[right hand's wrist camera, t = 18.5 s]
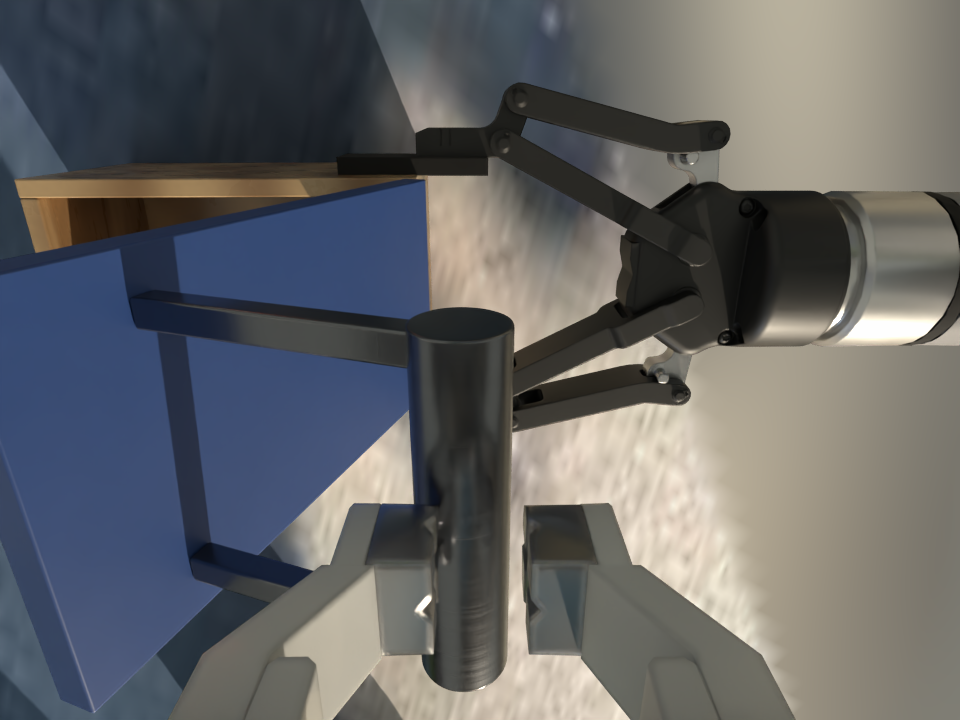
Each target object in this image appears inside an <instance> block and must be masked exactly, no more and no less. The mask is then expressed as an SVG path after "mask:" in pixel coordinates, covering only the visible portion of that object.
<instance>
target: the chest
mask: <svg viewBox="0 0 960 720" xmlns="http://www.w3.org/2000/svg"><path fill="white" fill-rule="evenodd" d="M401 179H424V180H425V185H426V214H427V243H428V272H429V301H430V311H431V310H432V293H431V262H430V232H429V202H428V176H418V175H338V170H337V163H128V164H121V165H114V166H107V167H100V168H92V169H85V170H78V171H71V172H64V173H57V174H49V175H42V176H35V177H28V178H21V179H15V184H16V187H17V191H18V195H19V197H20V198H22V199H21V204H22V207H23V211H24V214H25V218H26V221H27V225H28V228H29V232H30V235H31V239H32V242H33V246H34V249H35V253H38V252H43V251H48V250H53V249H58V248H63V247H67V246H72V245H77V244H82V243H87V242H92V241H97V240H102V239H107V238H112V237H117V236H122V235H127V234H132V233H137V232H142V231H147V230H152V229H157V228H162V227H167V226H172V225H177V224H182V223H187V222H192V221H197V220H202V219H207V218H212V217H217V216H222V215H227V214H232V213H237V212H242V211H247V210H252V209H256V208H261V207H266V206H271V205H276V204H281V203H286V202H291V201H296V200H301V199H306V198H311V197H316V196H321V195H326V194H331V193H336V192H341V191H346V190H351V189H356V188H361V187H366V186H371V185H376V184H381V183H386V182H391V181H396V180H401Z"/></svg>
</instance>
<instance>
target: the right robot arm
mask: <svg viewBox="0 0 960 720" xmlns="http://www.w3.org/2000/svg"><path fill="white" fill-rule="evenodd" d="M523 531H524V541H525V543H524V544H523V546H522V584H523V598H524V602H525V603H526V630H527V640H528V650H529V654H535V655H570V656H581V659H582V660H583V661H584V663H585V664H586V665H587V666H588V668H589V669H590V670H591V671H592V673H593V674H594V675H595V676H596V678H597V679H598V680H599V681H600V682H601V684H602V685H603V686H604V687H605V689H606V690H607V691H608V692H609V694H610V695H611V696H612V697H613V699H614V700H615V701H616V702H617V703H618V705H619V706H620V707H621V708H622V710H623V711H624V712H625V713H626V715H627V716H628V717H629V718H630V720H796V719H795V717H794V715H793V714H792V712H791V710H790V708H789V706H788V704H787V702H786V700H785V698H784V696H783V695H782V693H781V691H780V689H779V687H778V685H777V683H776V681H775V679H774V677H773V676H772V674H771V672H770V670H769V668H768V666H767V664H766V662H765V660H764V658H763V657H762V655H761V654H760V653H758V652H757V651H756V650H754V649H753V648H752V647H750V646H749V645H748V644H746V643H745V642H744V641H742V640H741V639H739V638H738V637H737V636H735V635H734V634H733V633H731V632H730V631H729V630H727V629H726V628H725V627H723V626H722V625H721V624H719V623H718V622H717V621H715V620H714V619H713V618H711V617H710V616H709V615H707V614H706V613H705V612H703V611H702V610H701V609H699V608H698V607H697V606H695V605H694V604H692V603H691V602H690V601H688V600H687V599H686V598H684V597H683V596H682V595H680V594H679V593H678V592H676V591H675V590H674V589H672V588H671V587H670V586H668V585H667V584H666V583H664V582H663V581H662V580H660V579H659V578H658V577H656V576H655V575H654V574H652V573H651V572H650V571H648V570H647V569H646V568H644V567H643V566H641V565H632V562H631V559H630V556H629V554H628V551H627V548H626V545H625V542H624V539H623V536H622V534H621V531H620V528H619V525H618V522H617V519H616V516H615V514H614V511H613V508H612V506H611V505H610V504H609V503H595V504H580V505H524V513H523ZM438 533H439V511H438V505H427V504H382V505H381V504H380V503H354V504H353V505H352V506H351V507H350V508H349V511H348V514H347V517H346V520H345V523H344V526H343V529H342V532H341V535H340V538H339V540H338V543H337V546H336V549H335V552H334V555H333V558H332V561H331V564H330V565H321V566H320V567H319V568H317V569H316V570H315V571H313V572H312V573H311V574H309V575H308V576H306V577H305V578H304V579H302V580H301V581H300V582H298V583H297V584H296V585H294V586H293V587H292V588H290V589H289V590H288V591H286V592H285V593H284V594H282V595H281V596H280V597H278V598H277V599H276V600H274V601H273V602H272V603H270V604H269V605H268V606H266V607H265V608H264V609H262V610H261V611H260V612H258V613H257V614H256V615H254V616H253V617H251V618H250V619H249V620H247V621H246V622H245V623H243V624H242V625H241V626H239V627H238V628H237V629H235V630H234V631H233V632H231V633H230V634H229V635H227V636H226V637H225V638H223V639H222V640H221V641H219V642H218V643H217V644H215V645H214V646H213V647H211V648H210V649H209V650H207V651H206V652H205V653H203V654H202V656H201V658H200V660H199V662H198V664H197V665H196V667H195V669H194V671H193V673H192V675H191V677H190V679H189V681H188V682H187V684H186V686H185V688H184V690H183V692H182V694H181V696H180V698H179V700H178V701H177V703H176V705H175V707H174V709H173V711H172V713H171V715H170V717H169V719H168V720H333V718H334V717H335V716H336V715H337V713H338V712H339V711H340V710H341V708H342V707H343V706H344V705H345V703H346V702H347V701H348V700H349V699H350V697H351V696H352V695H353V694H354V692H355V691H356V690H357V689H358V687H359V686H360V685H361V684H362V682H363V681H364V680H365V679H366V677H367V676H368V675H369V674H370V673H371V671H372V670H373V669H374V668H375V666H376V665H377V664H378V663H379V661H380V660H381V656H392V655H426V654H434V645H435V634H436V624H437V615H436V603H437V602H438V601H439V586H440V546H439V544H438Z"/></svg>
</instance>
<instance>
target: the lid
mask: <svg viewBox="0 0 960 720" xmlns="http://www.w3.org/2000/svg"><path fill="white" fill-rule="evenodd" d="M513 367H514V323H513V321H512V320H511V319H510V318H509V317H508V316H506V315H504V314H501V313H498V312H495V311H491V310H486V309H480V308H468V307H455V308H442V309H436V310H431V311H430V301H429V272H428V243H427V214H426V185H425V180H424V179H401V180H396V181H391V182H386V183H381V184H376V185H371V186H366V187H361V188H356V189H351V190H346V191H341V192H336V193H331V194H326V195H321V196H316V197H311V198H306V199H301V200H296V201H291V202H286V203H281V204H276V205H271V206H266V207H261V208H256V209H252V210H247V211H242V212H237V213H232V214H227V215H222V216H217V217H212V218H207V219H202V220H197V221H192V222H187V223H182V224H177V225H172V226H167V227H162V228H157V229H152V230H147V231H142V232H137V233H132V234H127V235H122V236H117V237H112V238H107V239H102V240H97V241H92V242H87V243H82V244H77V245H72V246H67V247H63V248H58V249H53V250H48V251H43V252H38V253H33V254H28V255H23V256H18V257H13V258H8V259H3V260H0V539H1V542H2V545H3V547H4V550H5V553H6V555H7V558H8V561H9V563H10V566H11V569H12V571H13V574H14V577H15V579H16V582H17V585H18V587H19V590H20V592H21V595H22V598H23V600H24V603H25V606H26V608H27V611H28V614H29V616H30V619H31V622H32V624H33V627H34V630H35V632H36V635H37V638H38V640H39V643H40V646H41V648H42V651H43V654H44V656H45V659H46V662H47V664H48V667H49V670H50V672H51V675H52V677H53V680H54V683H55V685H56V688H57V691H58V693H59V696H60V699H61V700H63V701H65V702H68V703H70V704H72V705H75V706H77V707H79V708H82V709H84V710H86V711H89V712H91V713H94V712H96V711H97V710H98V709H99V708H100V707H101V706H102V705H103V704H104V703H105V702H106V701H107V700H108V699H109V698H110V697H111V696H112V695H113V694H115V693H116V692H117V691H118V690H119V689H120V688H121V687H122V686H123V685H124V684H125V683H126V682H127V681H128V680H129V679H130V678H131V677H132V676H133V675H134V674H135V673H136V672H137V671H138V670H139V669H140V668H141V667H143V666H144V665H145V664H146V663H147V662H148V661H149V660H150V659H151V658H152V657H153V656H154V655H155V654H156V653H157V652H158V651H159V650H160V649H161V648H162V647H163V646H164V645H165V644H166V643H167V642H168V641H169V640H171V639H172V638H173V637H174V636H175V635H176V634H177V633H178V632H179V631H180V630H181V629H182V628H183V627H184V626H185V625H186V624H187V623H188V622H189V621H190V620H191V619H192V618H193V617H194V616H195V615H196V614H197V613H198V612H200V611H201V610H202V609H203V608H204V607H205V606H206V605H207V604H208V603H209V602H210V601H211V600H212V599H213V598H214V597H215V596H216V595H217V594H218V593H219V592H220V591H221V590H222V589H226V590H229V591H232V592H235V593H239V594H242V595H245V596H248V597H252V598H255V599H258V600H261V601H265V602H268V603H272V602H273V601H274V600H276V599H277V598H278V597H280V596H281V595H282V594H284V593H285V592H286V591H288V590H289V589H290V588H292V587H293V586H294V585H296V584H297V583H298V582H300V581H301V580H302V579H304V578H305V577H306V576H308V575H309V574H311V573H312V572H313V571H312V570H308V569H305V568H301V567H298V566H294V565H291V564H287V563H284V562H280V561H276V560H273V559H269V558H266V557H262V556H259V554H260V553H261V552H262V551H263V550H264V549H265V548H266V547H267V546H268V545H269V544H270V543H271V542H272V541H273V540H274V539H275V538H276V537H277V536H278V535H279V534H280V533H281V532H282V531H283V530H285V529H286V528H287V527H288V526H289V525H290V524H291V523H292V522H293V521H294V520H295V519H296V518H297V517H298V516H299V515H300V514H301V513H302V512H303V511H304V510H305V509H306V508H307V507H308V506H309V505H310V504H311V503H313V502H314V501H315V500H316V499H317V498H318V497H319V496H320V495H321V494H322V493H323V492H324V491H325V490H326V489H327V488H328V487H329V486H330V485H331V484H332V483H333V482H334V481H335V480H336V479H337V478H338V477H339V476H340V475H342V474H343V473H344V472H345V471H346V470H347V469H348V468H349V467H350V466H351V465H352V464H353V463H354V462H355V461H356V460H357V459H358V458H359V457H360V456H361V455H362V454H363V453H364V452H365V451H366V450H367V449H368V448H370V447H371V446H372V445H373V444H374V443H375V442H376V441H377V440H378V439H379V438H380V437H381V436H382V435H383V434H384V433H385V432H386V431H387V430H388V429H389V428H390V427H391V426H392V425H393V424H394V423H395V422H396V421H398V420H399V419H400V418H401V417H402V416H403V415H404V414H405V413H406V412H407V411H408V410H409V418H410V437H411V456H412V476H413V495H414V504H427V505H438V511H439V533H438V544H439V546H440V586H439V601H438V602H437V603H436V615H437V624H436V634H435V645H434V654H426V655H422V662H423V666H424V669H425V671H426V673H427V674H428V675H429V677H430V678H431V679H432V680H433V681H434V682H435V683H437V684H438V685H439V686H441V687H443V688H445V689H448V690H451V691H457V692H471V691H476V690H479V689H482V688H484V687H486V686H488V685H490V684H491V683H493V682H494V681H495V680H496V679H497V678H498V677H499V676H500V674H501V673H502V671H503V669H504V667H505V665H506V661H507V643H508V597H509V551H510V505H511V459H512V413H513Z"/></svg>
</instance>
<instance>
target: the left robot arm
mask: <svg viewBox="0 0 960 720" xmlns="http://www.w3.org/2000/svg"><path fill="white" fill-rule="evenodd" d="M527 118H531V119H534V120H538V121H542V122H546V123H549V124H553V125H557V126H561V127H564V128H568V129H572V130H576V131H579V132H583V133H587V134H590V135H594V136H598V137H602V138H605V139H609V140H613V141H617V142H620V143H624V144H628V145H631V146H635V147H639V148H643V149H648V150H653V151H658V152H664V153H667V159H668V163H669V164H670V166H671V167H673V168H675V169H679V170H683V171H685V172H686V173H687V174H688V176H689V179H690V183H688V184H687V185H685V186H684V187H682V188H681V189H679V190H678V191H676V192H675V193H673V194H672V195H671V196H669V197H668V198H666V199H665V200H663V201H662V202H660V203H659V204H657V205H656V206H655V207H653V208H652V209H649V208H647V207H645V206H644V205H642V204H640V203H638V202H636V201H635V200H633V199H631V198H629V197H627V196H626V195H624V194H622V193H620V192H618V191H617V190H615V189H613V188H611V187H610V186H608V185H606V184H604V183H603V182H601V181H599V180H597V179H595V178H594V177H592V176H590V175H588V174H587V173H585V172H583V171H581V170H579V169H578V168H576V167H574V166H572V165H571V164H569V163H567V162H565V161H564V160H562V159H560V158H558V157H556V156H555V155H553V154H551V153H549V152H548V151H546V150H544V149H542V148H540V147H539V146H537V145H535V144H533V143H532V142H530V141H528V140H526V139H525V138H523V137H521V136H520V135H521V133H522V130H523V127H524V125H525V122H526V119H527ZM729 138H730V128H729V126H728V125H727V124H726V123H725V122H723V121H706V120H696V121H687V122H679V123H668V122H665V121H661V120H657V119H654V118H650V117H646V116H643V115H639V114H636V113H632V112H628V111H625V110H621V109H617V108H614V107H610V106H606V105H603V104H599V103H596V102H592V101H588V100H585V99H581V98H577V97H574V96H570V95H566V94H563V93H559V92H556V91H552V90H548V89H545V88H541V87H537V86H534V85H530V84H526V83H516V84H513V85H512V86H510V87H509V88H508V89H507V90H506V91H505V92H504V95H503V98H502V101H501V104H500V107H499V110H498V113H497V116H496V118H495V120H494V121H493V122H492V123H491V124H490V125H488V126H486V127H482V128H426V129H424V130H422V131H419V132H417V133H416V154H345V155H342V156H339V157H336V158H337V170H338V175H418V176H488V158H500V159H502V160H504V161H506V162H507V163H509V164H511V165H513V166H515V167H516V168H518V169H520V170H522V171H524V172H525V173H527V174H529V175H531V176H533V177H535V178H536V179H538V180H540V181H542V182H544V183H545V184H547V185H549V186H551V187H553V188H554V189H556V190H558V191H560V192H562V193H564V194H565V195H567V196H569V197H571V198H573V199H574V200H576V201H578V202H580V203H582V204H583V205H585V206H587V207H589V208H591V209H593V210H594V211H596V212H598V213H600V214H602V215H603V216H605V217H607V218H609V219H611V220H612V221H614V222H616V223H618V224H620V225H621V226H623V227H625V228H626V229H627V231H626V233H625V235H621V242H620V255H621V260H622V269H621V272H620V274H619V277H618V280H617V286H616V297H617V298H618V299H616V300H614V301H612V302H610V303H608V304H606V305H604V306H602V307H601V308H600V309H599V310H598V312H597V313H595V314H593V315H591V316H589V317H587V318H585V319H583V320H581V321H579V322H577V323H575V324H572V325H570V326H568V327H566V328H564V329H562V330H560V331H558V332H556V333H554V334H552V335H550V336H548V337H546V338H544V339H542V340H539V341H537V342H535V343H533V344H531V345H529V346H527V347H525V348H523V349H521V350H519V351H517V352H515V353H514V367H513V413H512V432H518V431H523V430H527V429H532V428H536V427H541V426H545V425H549V424H554V423H558V422H563V421H567V420H572V419H576V418H581V417H585V416H590V415H594V414H599V413H603V412H607V411H612V410H616V409H621V408H625V407H630V406H634V405H639V404H643V403H649V404H660V405H670V406H681V405H684V404H685V403H687V402H688V401H689V399H690V397H691V392H690V389H689V388H688V387H687V386H686V384H685V380H686V376H687V372H688V368H689V365H690V361H691V357H692V355H694V354H697V353H699V352H701V351H703V350H705V349H708V348H711V347H714V346H736V347H765V346H804V345H807V344H810V343H811V344H813V345H817V346H822V347H823V346H871V345H960V192H939V193H934V192H914V191H913V192H880V191H830V192H828V193H825V194H821V193H819V192H816V191H734V190H730V189H728V188H727V187H725V186H724V185H722V184H720V183H718V171H719V149H721V148H723V147H724V146H725V145H726V144H727V142H728V141H729ZM651 336H654V337H655V338H657V339H658V340H659V341H661V342H662V343H663V344H665V345H666V346H667V347H668V348H667V350H666V351H665V352H664V353H663V354H661V355H659V356H654V357H648V358H647V359H646V360H645V362H644V364H633V365H625V366H619V367H615V368H611V369H606V370H602V371H597V372H593V373H589V374H584V375H580V376H576V377H571V378H567V379H562V380H558V381H554V382H549V383H545V384H542V383H544V382H546V381H548V380H550V379H552V378H554V377H556V376H559V375H561V374H563V373H565V372H567V371H569V370H571V369H573V368H575V367H578V366H580V365H582V364H584V363H586V362H588V361H590V360H592V359H594V358H597V357H599V356H601V355H603V354H605V353H607V352H609V351H611V350H614V349H616V348H627V347H630V346H632V345H634V344H637V343H639V342H641V341H643V340H645V339H647V338H649V337H651ZM539 384H541V385H539Z"/></svg>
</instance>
